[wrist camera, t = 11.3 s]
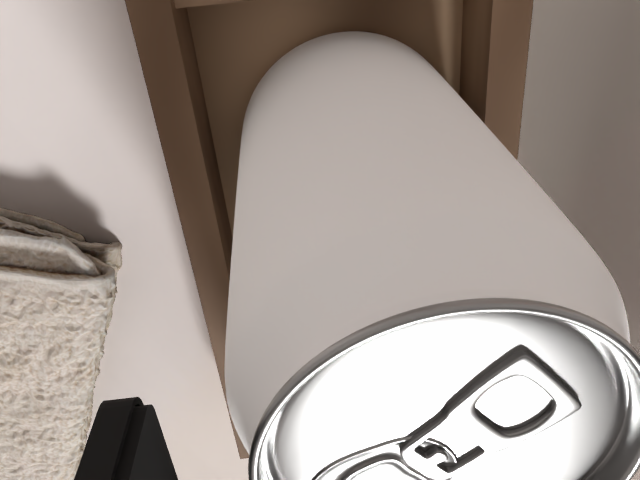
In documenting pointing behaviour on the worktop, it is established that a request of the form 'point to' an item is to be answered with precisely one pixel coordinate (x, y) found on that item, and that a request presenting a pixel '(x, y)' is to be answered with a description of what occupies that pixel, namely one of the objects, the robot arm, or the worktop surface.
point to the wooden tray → (259, 56)
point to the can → (412, 289)
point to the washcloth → (50, 342)
